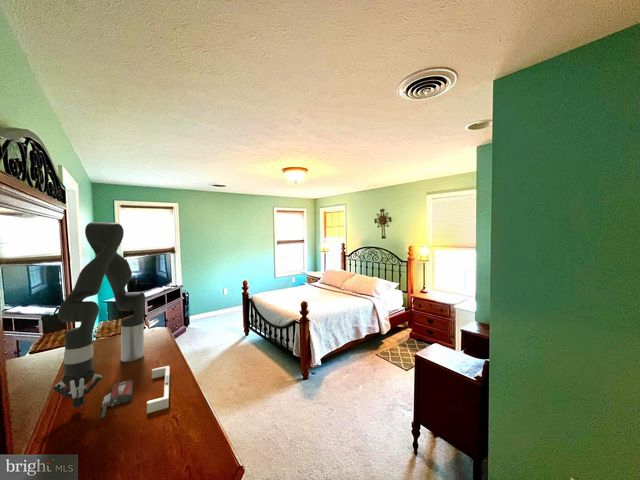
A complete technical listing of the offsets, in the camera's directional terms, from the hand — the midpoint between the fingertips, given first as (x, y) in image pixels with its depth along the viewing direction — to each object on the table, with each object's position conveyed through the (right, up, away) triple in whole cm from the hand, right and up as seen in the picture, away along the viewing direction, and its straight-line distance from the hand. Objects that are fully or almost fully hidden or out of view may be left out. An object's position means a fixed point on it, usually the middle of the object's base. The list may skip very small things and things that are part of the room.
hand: (78, 406), depth 89 cm
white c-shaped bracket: (+20, -2, +12) cm, 24 cm away
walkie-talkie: (+9, -2, +6) cm, 11 cm away
